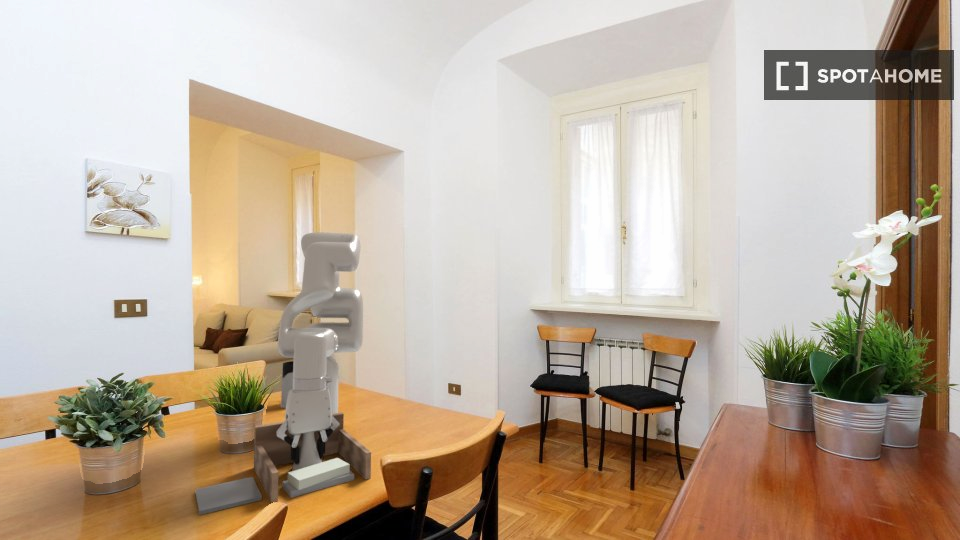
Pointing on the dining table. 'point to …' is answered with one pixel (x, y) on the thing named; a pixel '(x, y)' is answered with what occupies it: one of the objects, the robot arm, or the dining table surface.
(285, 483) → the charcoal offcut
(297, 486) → the sage offcut
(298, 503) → the dining table surface
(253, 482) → the slate coaster
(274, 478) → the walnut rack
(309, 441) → the flask
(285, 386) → the glass holder
